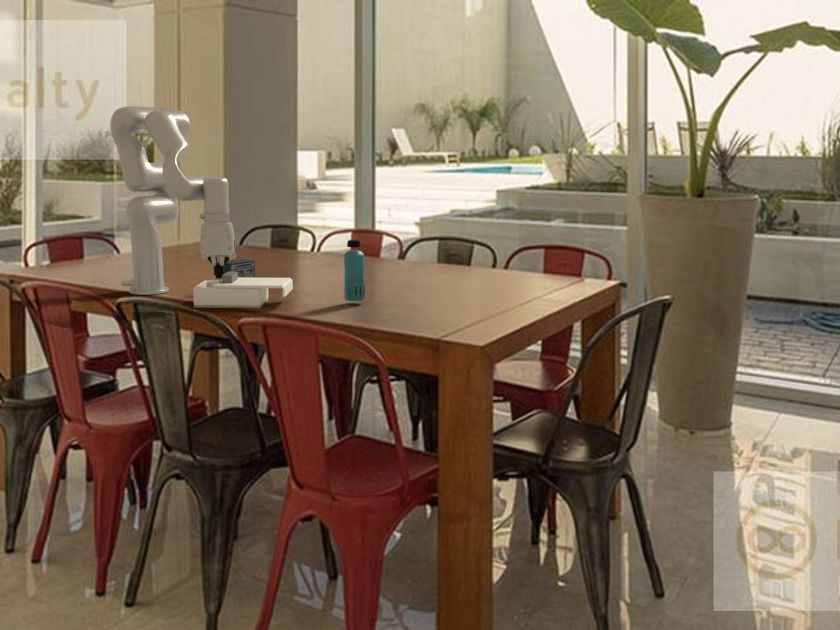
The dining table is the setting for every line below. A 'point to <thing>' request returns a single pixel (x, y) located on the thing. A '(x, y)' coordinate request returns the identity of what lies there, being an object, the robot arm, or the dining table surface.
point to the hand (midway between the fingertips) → (219, 277)
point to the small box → (241, 267)
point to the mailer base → (228, 296)
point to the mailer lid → (254, 282)
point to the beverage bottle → (354, 273)
